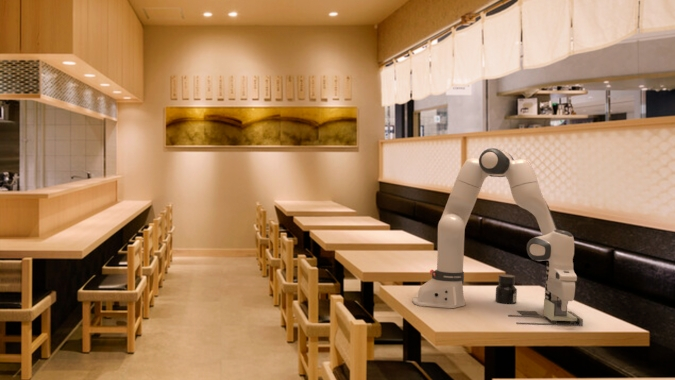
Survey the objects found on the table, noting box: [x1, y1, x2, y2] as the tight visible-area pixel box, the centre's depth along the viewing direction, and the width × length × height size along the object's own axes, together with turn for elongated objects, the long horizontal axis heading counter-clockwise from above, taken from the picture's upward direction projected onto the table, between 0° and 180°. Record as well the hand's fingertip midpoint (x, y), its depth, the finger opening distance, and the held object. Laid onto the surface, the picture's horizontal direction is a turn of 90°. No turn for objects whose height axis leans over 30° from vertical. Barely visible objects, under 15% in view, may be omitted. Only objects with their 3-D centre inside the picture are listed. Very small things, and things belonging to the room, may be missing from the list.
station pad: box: [516, 310, 542, 316], centre depth 262 cm, size 8×8×1 cm
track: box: [507, 310, 584, 327], centre depth 250 cm, size 25×12×3 cm, turn 90°
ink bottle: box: [494, 274, 518, 305], centre depth 282 cm, size 10×9×12 cm
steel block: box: [552, 301, 568, 316], centre depth 250 cm, size 4×4×5 cm
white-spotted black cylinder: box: [544, 261, 562, 302], centre depth 269 cm, size 8×8×20 cm
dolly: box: [542, 298, 577, 324], centre depth 250 cm, size 10×9×8 cm
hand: (558, 307), depth 250 cm, fingers open, 8 cm apart
